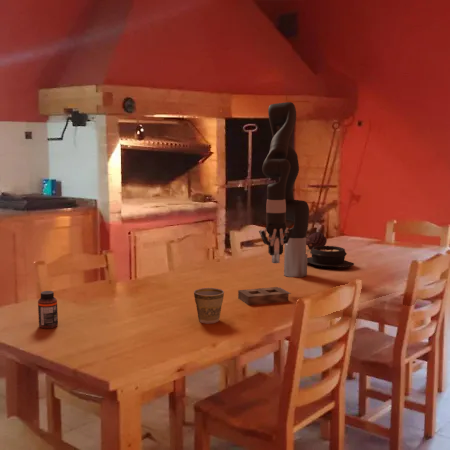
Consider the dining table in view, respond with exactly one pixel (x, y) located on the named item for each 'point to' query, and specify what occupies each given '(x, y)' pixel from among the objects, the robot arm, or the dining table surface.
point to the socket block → (263, 295)
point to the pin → (276, 250)
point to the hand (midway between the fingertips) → (275, 254)
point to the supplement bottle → (47, 310)
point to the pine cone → (316, 240)
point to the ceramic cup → (208, 304)
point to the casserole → (328, 257)
